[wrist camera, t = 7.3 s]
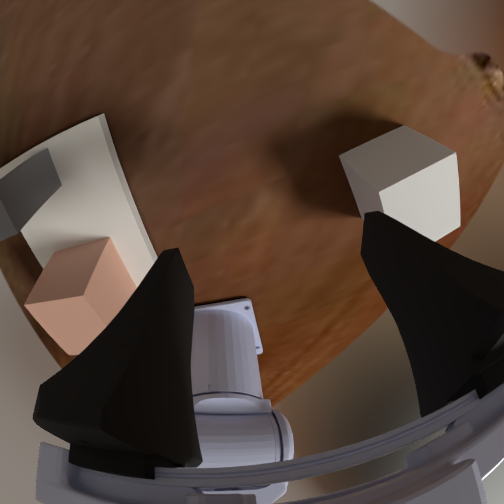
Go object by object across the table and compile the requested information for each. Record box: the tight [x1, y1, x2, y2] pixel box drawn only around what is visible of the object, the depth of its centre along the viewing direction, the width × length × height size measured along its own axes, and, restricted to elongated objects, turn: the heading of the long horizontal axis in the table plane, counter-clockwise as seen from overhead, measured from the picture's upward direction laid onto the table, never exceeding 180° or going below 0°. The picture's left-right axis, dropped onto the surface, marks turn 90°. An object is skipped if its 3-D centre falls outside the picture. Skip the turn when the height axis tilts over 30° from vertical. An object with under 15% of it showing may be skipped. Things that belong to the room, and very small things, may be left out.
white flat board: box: [0, 113, 157, 287], centre depth 16 cm, size 16×11×7 cm
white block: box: [339, 125, 460, 242], centre depth 17 cm, size 6×6×6 cm
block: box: [24, 237, 137, 355], centre depth 18 cm, size 6×6×6 cm
